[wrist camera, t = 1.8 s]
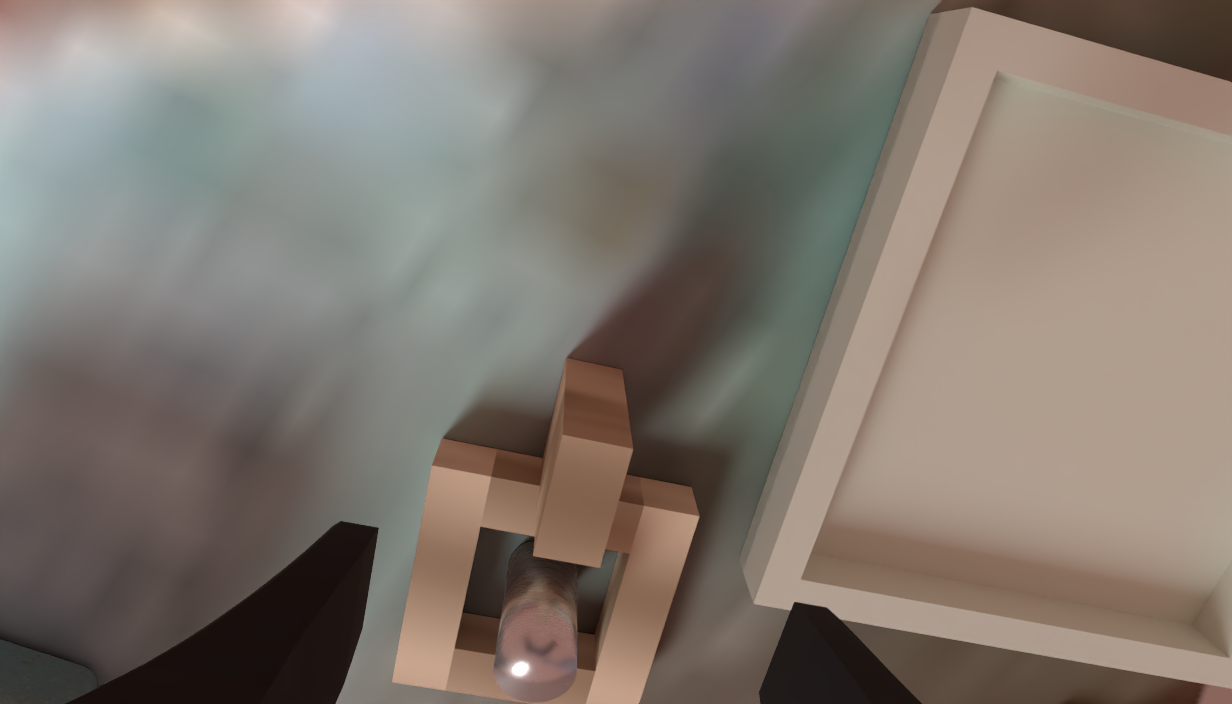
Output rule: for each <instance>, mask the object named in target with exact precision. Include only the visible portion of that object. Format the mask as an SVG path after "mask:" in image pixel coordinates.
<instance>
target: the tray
mask: <svg viewBox="0 0 1232 704" xmlns="http://www.w3.org/2000/svg"><path fill="white" fill-rule="evenodd" d="M739 561H740V564H741V567H742V570H743V573H744V576H745V579H746V582H747V586H748V589H749V592H750V595H751V598H752V601H753V604H757V605H763V606H769V607H774V608H780V609H785V610H791V609H792V606H793V604H794V602H799V603H805V604H810V605H816V606H822V607H827V608H828V609H829V610H830V611H831V612H833V613H834V614H835V615H836V616H837V617H838V618H839V619H842V620H847V621H853V622H859V623H864V624H870V625H875V626H881V627H887V628H892V629H898V630H904V631H909V632H915V633H920V634H926V635H932V636H937V637H943V638H949V639H954V640H960V641H965V642H971V643H977V644H982V645H988V646H994V647H999V648H1005V649H1010V650H1016V651H1022V652H1027V653H1033V654H1038V655H1044V656H1050V657H1055V658H1061V659H1067V660H1072V661H1078V662H1083V663H1089V664H1095V665H1100V666H1106V667H1112V668H1117V669H1123V670H1128V671H1134V672H1140V673H1145V674H1151V675H1157V676H1162V677H1168V678H1173V679H1179V680H1185V681H1190V682H1196V683H1202V684H1207V685H1213V686H1218V687H1224V688H1230V689H1232V82H1230V81H1226V80H1223V79H1219V78H1216V77H1212V76H1209V75H1205V74H1202V73H1199V72H1195V71H1192V70H1188V69H1185V68H1181V67H1178V66H1174V65H1171V64H1167V63H1164V62H1160V61H1157V60H1154V59H1150V58H1147V57H1143V56H1140V55H1136V54H1133V53H1129V52H1126V51H1122V50H1119V49H1115V48H1112V47H1109V46H1105V45H1102V44H1098V43H1095V42H1091V41H1088V40H1084V39H1081V38H1077V37H1074V36H1071V35H1067V34H1064V33H1060V32H1057V31H1053V30H1050V29H1046V28H1043V27H1039V26H1036V25H1032V24H1029V23H1026V22H1022V21H1019V20H1015V19H1012V18H1008V17H1005V16H1001V15H998V14H994V13H991V12H987V11H984V10H981V9H977V8H974V7H970V8H964V9H958V10H952V11H946V12H939V13H933V14H930V15H929V18H928V21H927V24H926V27H925V30H924V32H923V35H922V38H921V41H920V44H919V47H918V50H917V52H916V55H915V58H914V61H913V64H912V67H911V69H910V72H909V75H908V78H907V81H906V84H905V87H904V89H903V92H902V95H901V98H900V101H899V104H898V107H897V109H896V112H895V115H894V118H893V121H892V124H891V127H890V129H889V132H888V135H887V138H886V141H885V144H884V146H883V149H882V152H881V155H880V158H879V161H878V164H877V166H876V169H875V172H874V175H873V178H872V181H871V184H870V186H869V189H868V192H867V195H866V198H865V201H864V204H863V206H862V209H861V212H860V215H859V218H858V221H857V223H856V226H855V229H854V232H853V235H852V238H851V241H850V243H849V246H848V249H847V252H846V255H845V258H844V261H843V263H842V266H841V269H840V272H839V275H838V278H837V281H836V283H835V286H834V289H833V292H832V295H831V298H830V300H829V303H828V306H827V309H826V312H825V315H824V318H823V320H822V323H821V326H820V329H819V332H818V335H817V338H816V340H815V343H814V346H813V349H812V352H811V355H810V358H809V360H808V363H807V366H806V369H805V372H804V375H803V377H802V380H801V383H800V386H799V389H798V392H797V395H796V397H795V400H794V403H793V406H792V409H791V412H790V415H789V417H788V420H787V423H786V426H785V429H784V432H783V435H782V437H781V440H780V443H779V446H778V449H777V452H776V454H775V457H774V460H773V463H772V466H771V469H770V472H769V474H768V477H767V480H766V483H765V486H764V489H763V492H762V494H761V497H760V500H759V503H758V506H757V509H756V512H755V514H754V517H753V520H752V523H751V526H750V529H749V531H748V534H747V537H746V540H745V543H744V546H743V549H742V551H741V554H740V557H739Z"/></svg>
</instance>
